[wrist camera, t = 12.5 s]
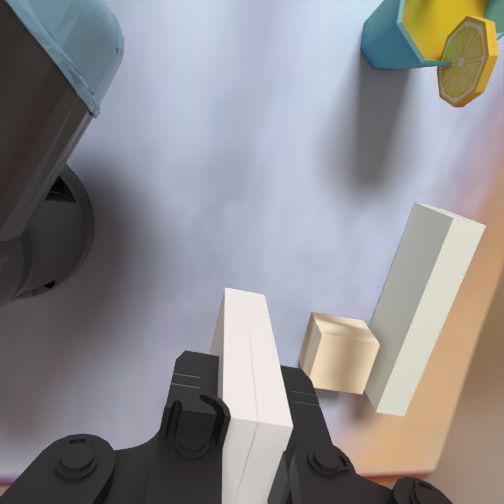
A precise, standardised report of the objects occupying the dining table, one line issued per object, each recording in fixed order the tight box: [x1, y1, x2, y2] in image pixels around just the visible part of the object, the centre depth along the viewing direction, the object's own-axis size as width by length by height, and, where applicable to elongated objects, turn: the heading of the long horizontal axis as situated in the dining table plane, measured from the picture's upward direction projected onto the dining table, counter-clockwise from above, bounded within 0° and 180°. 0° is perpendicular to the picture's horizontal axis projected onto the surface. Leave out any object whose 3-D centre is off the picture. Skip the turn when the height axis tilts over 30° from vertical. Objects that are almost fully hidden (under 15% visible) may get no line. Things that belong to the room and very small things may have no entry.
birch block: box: [298, 312, 380, 394], centre depth 41 cm, size 6×6×5 cm
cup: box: [361, 0, 504, 107], centre depth 26 cm, size 14×8×15 cm, turn 18°
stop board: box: [364, 203, 485, 416], centre depth 38 cm, size 3×20×7 cm, turn 167°
